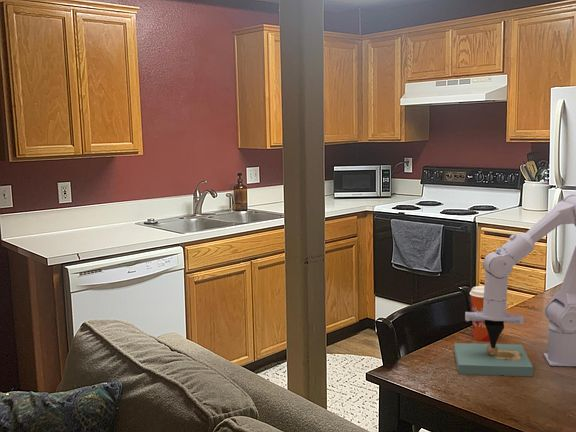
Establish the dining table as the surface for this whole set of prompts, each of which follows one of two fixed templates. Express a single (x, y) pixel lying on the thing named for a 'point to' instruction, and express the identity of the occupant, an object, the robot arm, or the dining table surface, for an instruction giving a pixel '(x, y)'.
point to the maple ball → (491, 349)
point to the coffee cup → (477, 306)
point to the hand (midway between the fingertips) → (492, 348)
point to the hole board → (492, 360)
